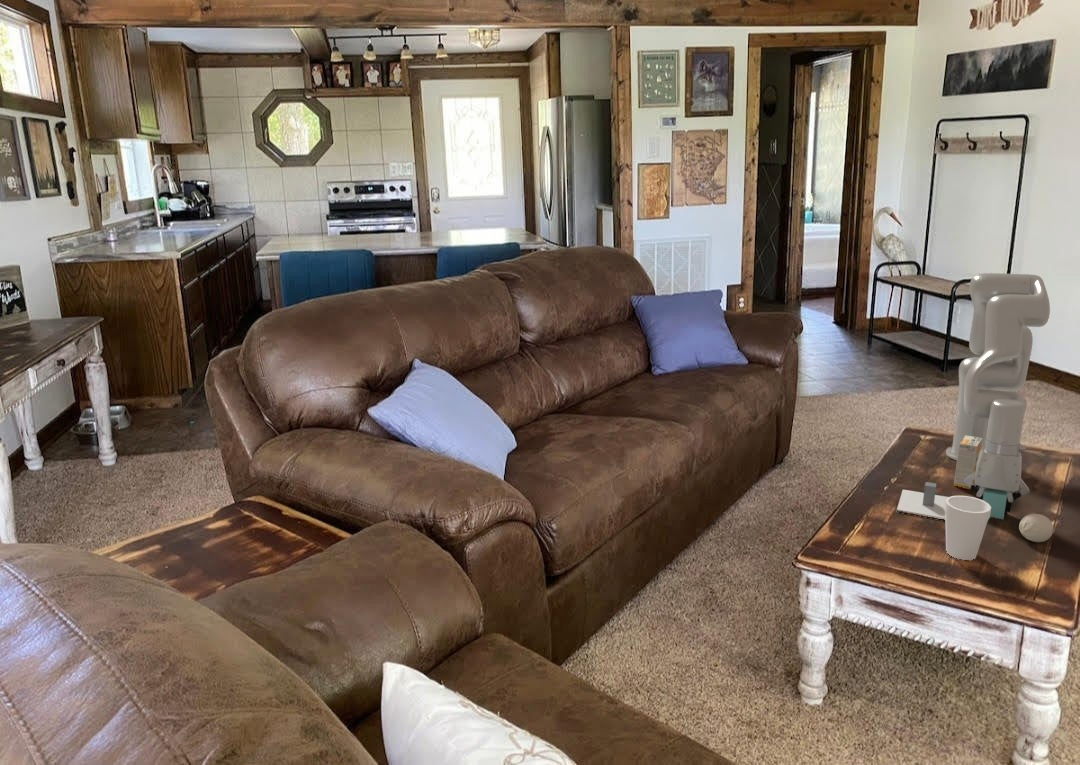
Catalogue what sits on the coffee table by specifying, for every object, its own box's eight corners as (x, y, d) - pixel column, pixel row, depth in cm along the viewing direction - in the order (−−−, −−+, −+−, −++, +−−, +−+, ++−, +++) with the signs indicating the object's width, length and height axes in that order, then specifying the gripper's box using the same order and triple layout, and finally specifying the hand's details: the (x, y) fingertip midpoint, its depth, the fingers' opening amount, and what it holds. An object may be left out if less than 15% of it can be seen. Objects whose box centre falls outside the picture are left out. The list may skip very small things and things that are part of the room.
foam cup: (944, 540, 193) (951, 492, 190) (987, 551, 188) (994, 501, 184) (934, 556, 186) (941, 506, 183) (978, 568, 181) (985, 516, 177)
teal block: (981, 507, 210) (984, 484, 208) (1003, 511, 207) (1007, 488, 206) (980, 515, 206) (983, 492, 204) (1003, 519, 203) (1007, 495, 201)
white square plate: (902, 492, 220) (904, 470, 219) (958, 501, 214) (961, 479, 212) (896, 512, 209) (899, 489, 207) (955, 522, 202) (958, 499, 200)
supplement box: (972, 490, 220) (978, 446, 217) (953, 486, 223) (958, 443, 219) (977, 480, 227) (983, 437, 223) (958, 476, 229) (964, 434, 226)
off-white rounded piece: (1010, 537, 194) (1013, 512, 192) (1031, 531, 197) (1035, 507, 195) (1035, 549, 188) (1039, 524, 186) (1057, 543, 190) (1061, 518, 189)
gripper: (1040, 447, 200) (1030, 512, 205) (964, 437, 208) (956, 500, 214) (1041, 457, 194) (1030, 524, 199) (963, 446, 202) (954, 511, 207)
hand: (992, 511), depth 206 cm, fingers closed on teal block, 5 cm apart
